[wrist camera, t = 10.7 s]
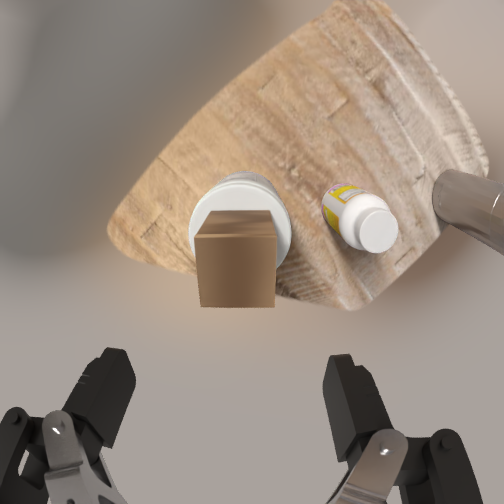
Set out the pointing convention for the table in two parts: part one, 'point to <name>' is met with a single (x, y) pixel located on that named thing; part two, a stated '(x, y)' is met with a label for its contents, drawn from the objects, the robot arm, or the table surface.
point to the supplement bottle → (360, 218)
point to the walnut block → (236, 259)
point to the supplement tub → (245, 206)
